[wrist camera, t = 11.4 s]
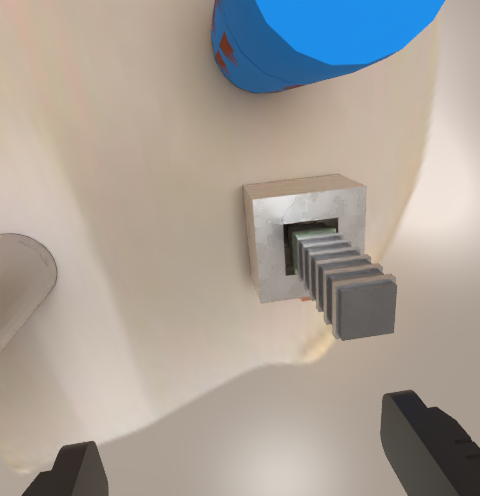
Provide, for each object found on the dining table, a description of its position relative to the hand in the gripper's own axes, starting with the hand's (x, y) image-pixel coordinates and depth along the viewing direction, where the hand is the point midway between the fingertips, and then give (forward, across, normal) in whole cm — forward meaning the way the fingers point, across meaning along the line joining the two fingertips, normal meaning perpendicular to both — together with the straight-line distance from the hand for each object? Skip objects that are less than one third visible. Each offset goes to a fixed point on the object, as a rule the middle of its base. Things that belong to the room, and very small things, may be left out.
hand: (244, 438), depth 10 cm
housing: (+36, -10, +6) cm, 38 cm away
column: (+30, -10, +6) cm, 33 cm away
